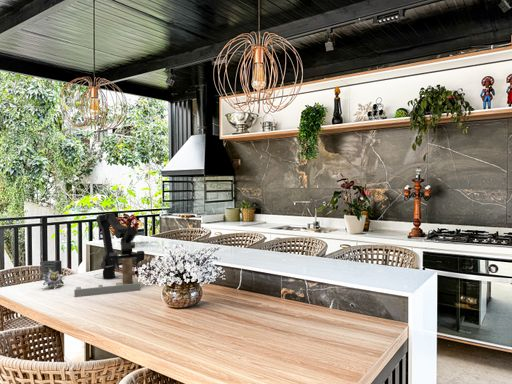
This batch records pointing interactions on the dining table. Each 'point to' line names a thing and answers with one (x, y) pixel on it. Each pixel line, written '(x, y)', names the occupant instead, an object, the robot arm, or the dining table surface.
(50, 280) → the passion flower
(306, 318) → the dining table surface
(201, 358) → the dining table surface
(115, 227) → the robot arm
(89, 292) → the tray
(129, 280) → the walnut block
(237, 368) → the dining table surface
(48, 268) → the small box
